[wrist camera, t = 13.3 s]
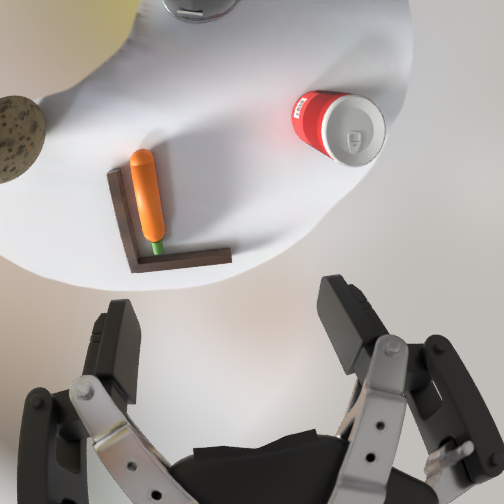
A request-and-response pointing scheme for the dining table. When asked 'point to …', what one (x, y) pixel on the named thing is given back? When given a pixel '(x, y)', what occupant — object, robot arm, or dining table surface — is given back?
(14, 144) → the decorative egg
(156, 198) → the carrot
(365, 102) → the canned food
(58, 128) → the dining table surface
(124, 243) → the corner guide
